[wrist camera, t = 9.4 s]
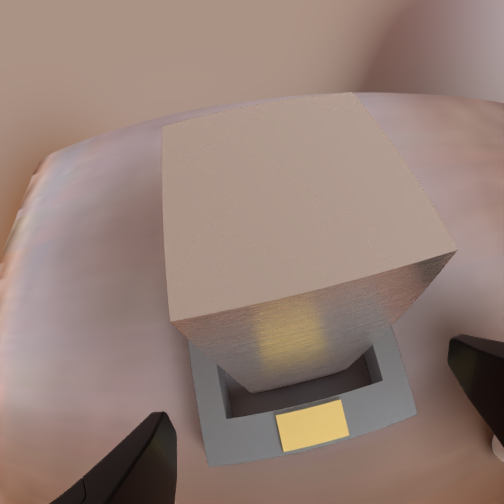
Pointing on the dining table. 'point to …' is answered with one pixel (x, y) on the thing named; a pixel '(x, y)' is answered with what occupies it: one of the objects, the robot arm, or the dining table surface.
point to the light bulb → (498, 448)
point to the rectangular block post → (292, 236)
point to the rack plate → (300, 411)
